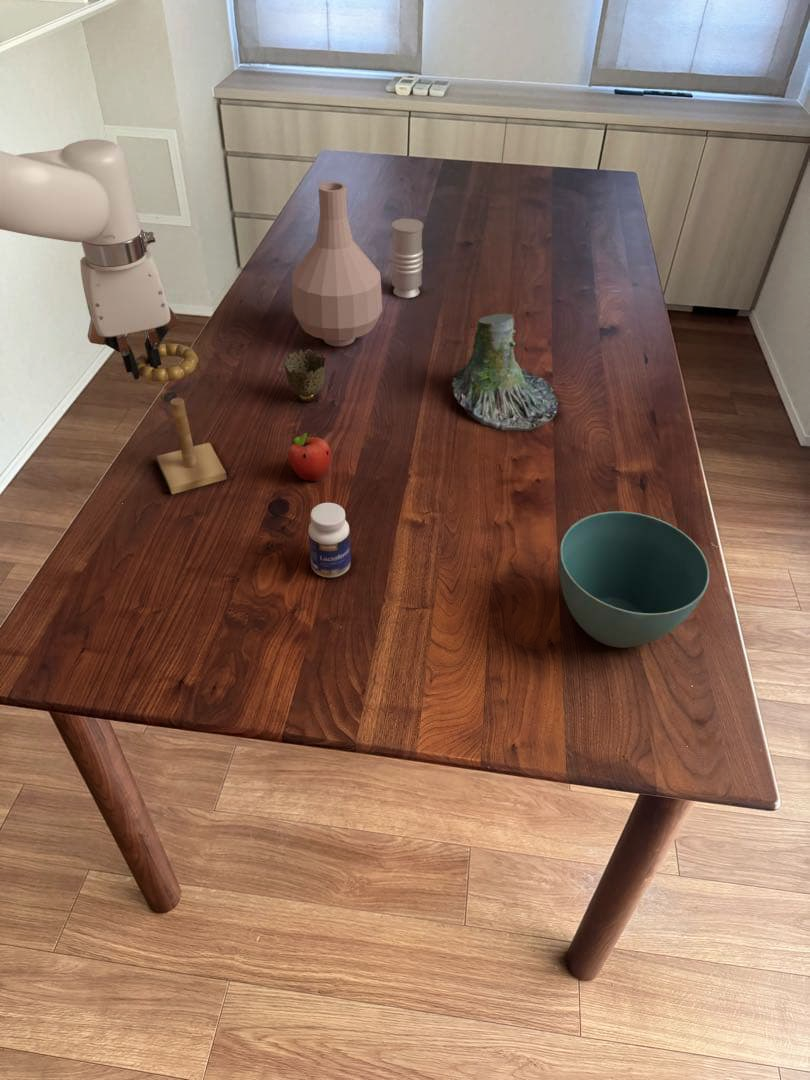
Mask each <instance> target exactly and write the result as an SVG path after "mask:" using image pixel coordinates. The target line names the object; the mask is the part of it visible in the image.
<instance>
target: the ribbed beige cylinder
mask: <svg viewBox="0 0 810 1080" xmlns="http://www.w3.org/2000/svg"><path fill="white" fill-rule="evenodd" d="M391 228H392V248H391V251H390V253H391V256H390V257H391V261H390V263H391V265H390V269H391V270H392V271H391V272H392V273H391V285H392V286H393V287H394V289H393V294H394V295H395V296H397V297H399V298H403V299H404V298H405V299H409V298H410V299H411V298H414V297H417V296H419V294H420V292H421V290H420V287H421V286H422V284H423V279H422V278H423V277H422V271H423V261H424V260H423V259H424V255H423V253H424V250H423V229H424V223H423V222H422V221H420V220H418V219H415V218H399V219H396V220H394V221H392V222H391Z"/></svg>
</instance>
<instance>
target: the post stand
mask: <svg viewBox="0 0 810 1080" xmlns="http://www.w3.org/2000/svg"><path fill="white" fill-rule="evenodd" d="M169 401H170V406H171V412H172V417H173V420H174V421H173V422H174V425H175V430H176V434H177V435H176V436H177V438H178V444H179V447H180V449H177V450H175V451H171V452H168V453H163V454H159V455H156V456H155V458H156V462H157V465H158V467H159V469H160V471H161V474H162V476H163V478H164V480H165V482H166V485H167V488H168V490H169V492H170V494H171V495H175V494H179V493H182V492H186V491H189V490H193V489H196V488H200V487H204V486H207V485H212V484H215V483H219V482H222V481H225V480H227V479H228V478H227V471H226V470H225V469H224V467H223V464H222V462H221V461H220V459H219V457H218V456H217V453H216V452H215V450H214V448H213V446H212V444H211V442H205V443H202V444H198V445H194V442H193V438H192V433H191V428H190V425H189V424H190V423H189V419H188V414H187V409H186V405H185V400H184V398H182V397H174V398H172V399H171V400H169Z"/></svg>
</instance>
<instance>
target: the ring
mask: <svg viewBox="0 0 810 1080" xmlns="http://www.w3.org/2000/svg"><path fill="white" fill-rule="evenodd" d="M158 351H159V355H160V359H161V358H165V357H178V358H181V359H184V360H183V361H182V362H181V363H179V364H178V365H175V366H171V367H166V368H159V367H158V368H153V367H150V365H149V360H148V356H147V352H146V349H145V350H143V351H141V352H140V353H139V354H138V355H137V357H136V358H135V361H136V365H137V369H138V373H139V377H142V378H144V379H147V380H149V381H151V382H166V383H168V382H172V381H176V380H177V381H178V380H181V379H183V378H185V377H187V376H188V375H190V374H192V373H193V372H194V371H195V370H196V368H197V366H198V363H199V357H198V355H197V354H196V352H195V350H194V349H193V348H191V347H189V346H187V345H184V344H182V343H160V347H159V348H158Z"/></svg>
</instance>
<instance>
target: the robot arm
mask: <svg viewBox="0 0 810 1080" xmlns="http://www.w3.org/2000/svg"><path fill="white" fill-rule="evenodd" d="M0 230H1V231H7V232H11V233H15V234H16V233H17V234H21V235H26V236H32V237H38V238H44V239H50V240H56V241H57V240H58V241H63V242H69V243H70V242H71V243H81V246H82V250H83V254H84V256H83V257H82V258H81V259H80V263H79V265H80V275H81V281H82V287H83V292H84V293H83V294H84V297H85V302H86V305H87V309H88V314H89V317H90V321H89V326H88V331H87V339H88V341H89V343H91V344H94V345H101V346H107V347H108V348H110V349H112V350H114V351H116V352H118V353H120V355H121V358H122V362H123V365H124V369H125V370H126V373H127V374H129V373H131V375H132V377H133V379H134V381H135V380H139V379H140V377H141V376H140V375H139V373H138V369H137V365H136V361H135V360H136V357H135V354H134V352H133V350H132V348H131V346H130V344H129V343H128V339H127V336H126V335H131V334H134V333H139V332H144V333H145V336H146V337H145V338H146V339H145V341H144V349H145V350H146V352H147V356H148V360H149V365H148V366H150V367H153V368H159V367H160V366H162V365H163V364H162V359H161V358H160V355H159V351H158V348H159V347H160V345H161V342H162V341H163V340H164V338H165V337H166V335H167V334H168V332H170V331H173V330H174V329H175V328H176V327H178V326H179V325H180V323H181V322H180V319H179V318H178V316H177V315H176V314H175V312H174V311H173V309H172V308H171V307H170V306H169V302H168V298H167V294H166V291H165V288H164V284H163V281H162V278H161V275H160V273H159V269H158V266H157V263H156V260H155V258H154V256H153V253H152V251H151V249H149V247H148V246H149V245H150V244H152V243H156V238H155V235H154V232H153V231H144V230H143V229H142V228H141V223H140V219H139V214H138V209H137V204H136V200H135V195H134V191H133V186H132V182H131V177H130V171H129V168H128V163H127V158H126V155H125V153H124V151H123V149H122V147H120V146H119V145H118V144H117V143H115V142H113V141H110V140H106V139H99V138H98V139H97V138H96V139H95V138H94V139H93V138H92V139H91V138H90V139H82V140H78V141H75V142H72V143H70V144H67V145H66V146H64V147H63V148H60V149H54V150H47V151H38V152H27V153H20V154H13V153H10V152H6V151H2V150H0Z"/></svg>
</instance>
